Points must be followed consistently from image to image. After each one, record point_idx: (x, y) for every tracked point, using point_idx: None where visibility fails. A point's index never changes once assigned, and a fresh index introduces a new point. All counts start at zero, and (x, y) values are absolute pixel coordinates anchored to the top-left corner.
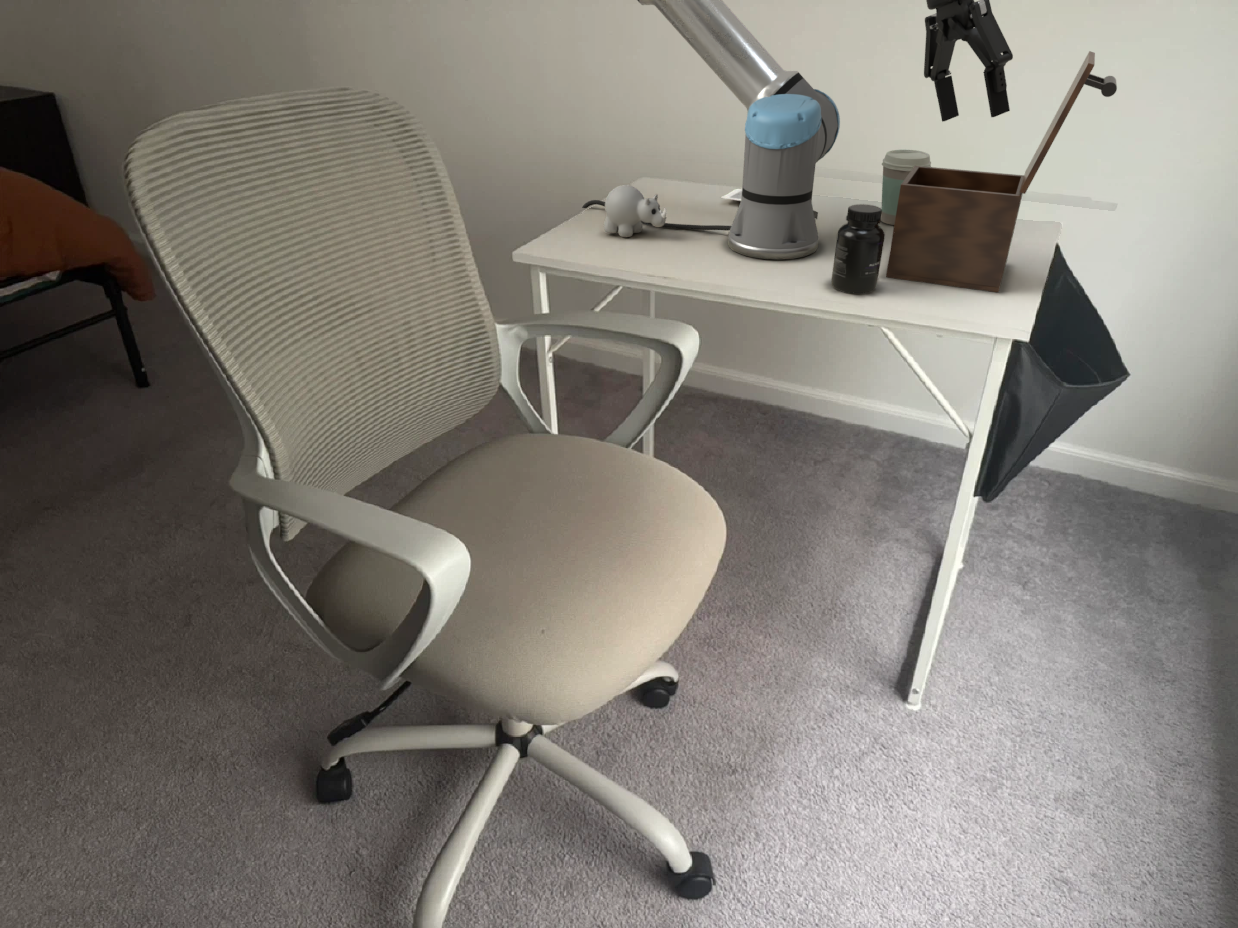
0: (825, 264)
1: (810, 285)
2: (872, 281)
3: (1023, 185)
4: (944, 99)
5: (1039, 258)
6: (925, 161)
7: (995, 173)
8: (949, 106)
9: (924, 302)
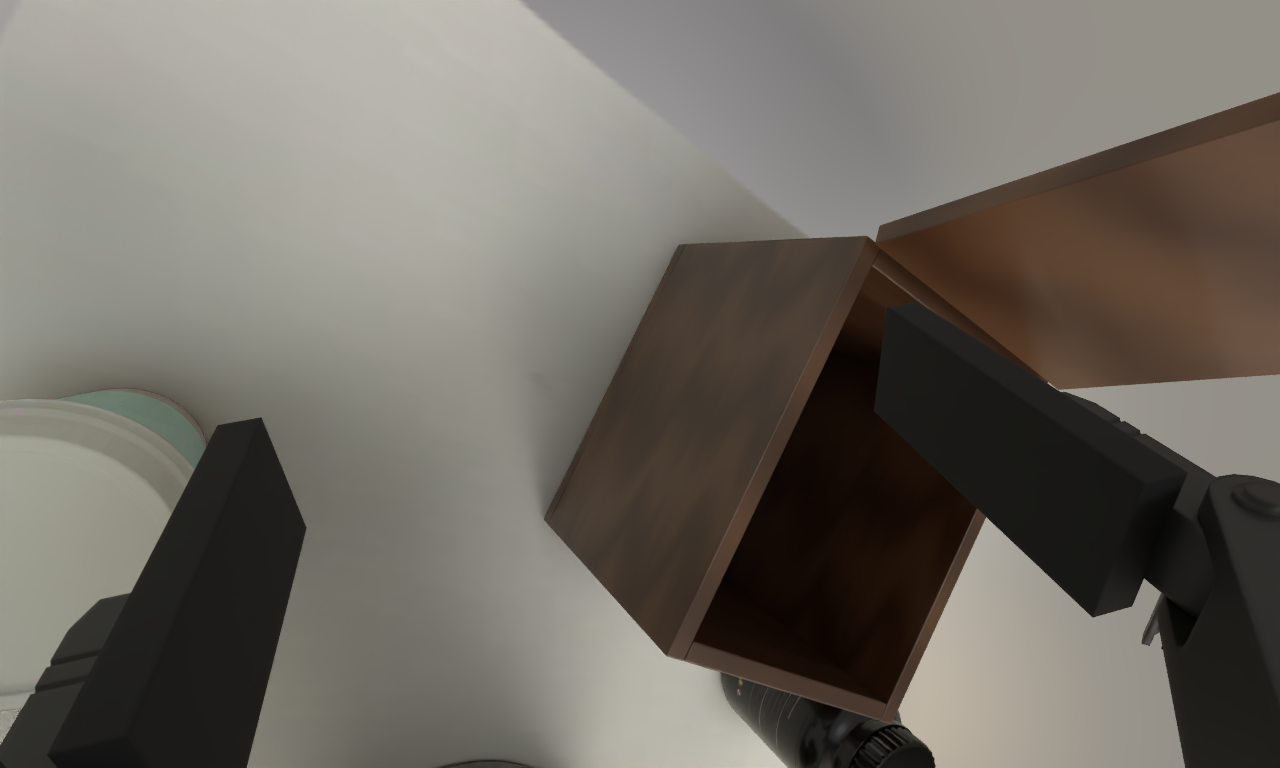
0: (615, 728)
1: (742, 755)
2: None
3: (1081, 386)
4: (262, 630)
5: (623, 97)
6: (161, 475)
7: (824, 352)
8: (263, 542)
9: None
